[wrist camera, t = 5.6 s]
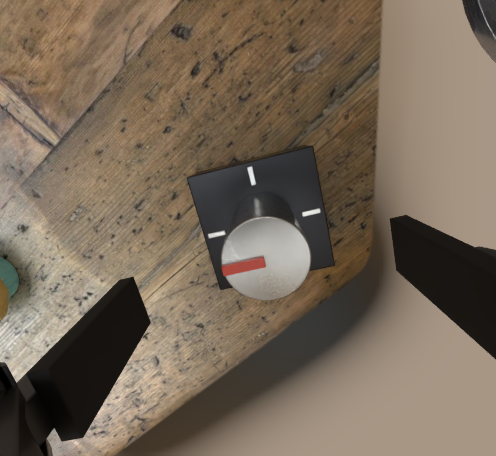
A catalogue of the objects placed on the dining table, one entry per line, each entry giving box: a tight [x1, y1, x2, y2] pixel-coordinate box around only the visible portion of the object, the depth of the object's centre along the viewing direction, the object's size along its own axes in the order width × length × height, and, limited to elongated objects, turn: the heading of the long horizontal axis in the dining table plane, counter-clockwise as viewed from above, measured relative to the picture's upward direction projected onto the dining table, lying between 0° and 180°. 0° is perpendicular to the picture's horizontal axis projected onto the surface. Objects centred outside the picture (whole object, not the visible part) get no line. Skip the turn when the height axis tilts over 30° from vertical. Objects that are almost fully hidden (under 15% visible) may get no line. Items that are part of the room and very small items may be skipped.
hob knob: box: [221, 193, 311, 301], centre depth 20 cm, size 5×5×8 cm
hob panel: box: [187, 145, 335, 290], centre depth 26 cm, size 10×10×4 cm
